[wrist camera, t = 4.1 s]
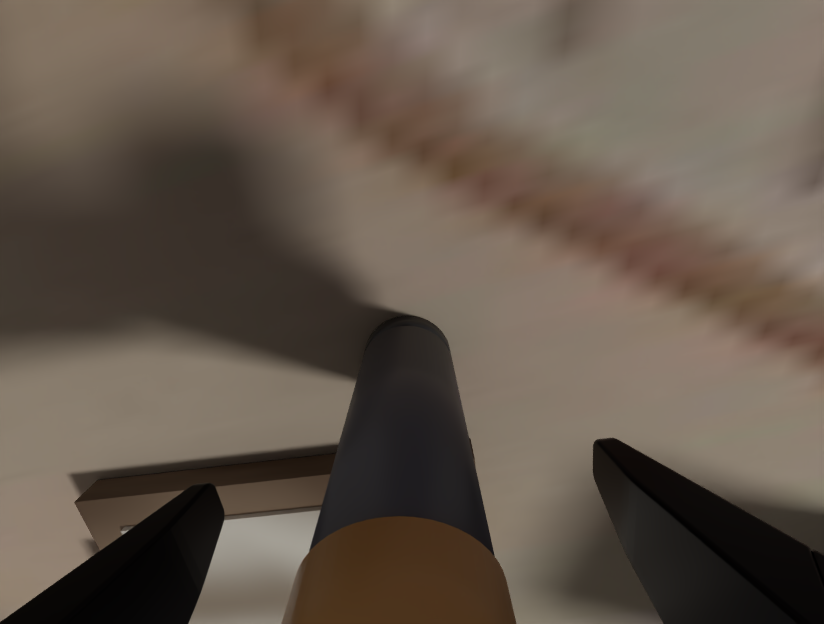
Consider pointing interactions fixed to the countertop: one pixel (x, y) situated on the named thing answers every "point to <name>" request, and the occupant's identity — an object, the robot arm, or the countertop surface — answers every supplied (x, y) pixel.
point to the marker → (402, 500)
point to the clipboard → (230, 528)
